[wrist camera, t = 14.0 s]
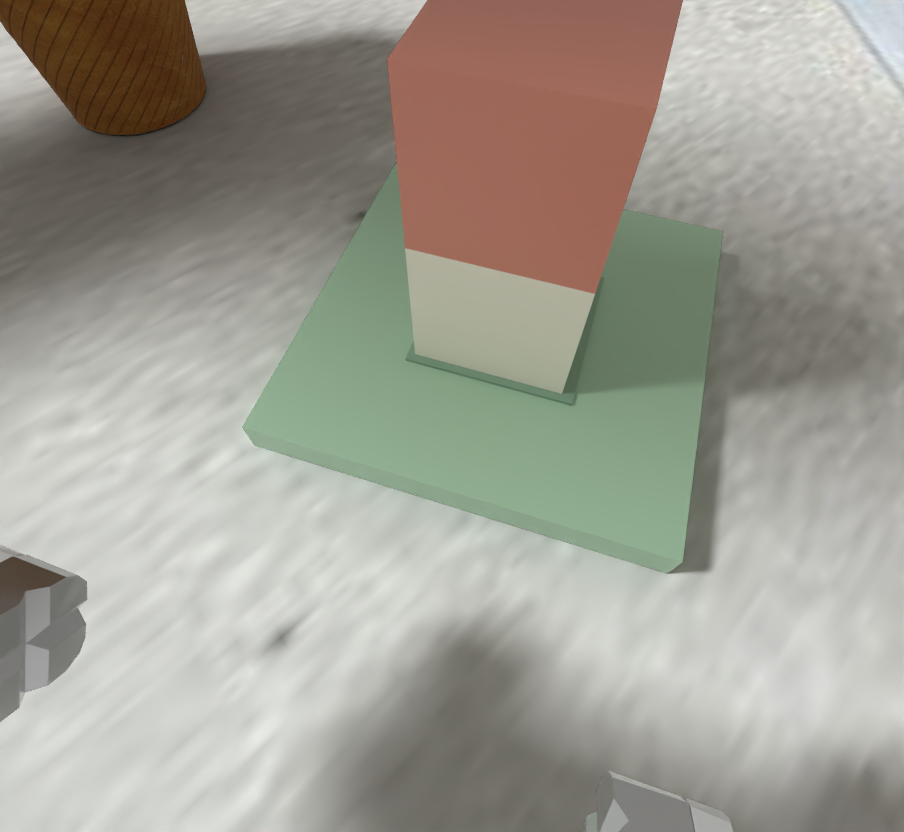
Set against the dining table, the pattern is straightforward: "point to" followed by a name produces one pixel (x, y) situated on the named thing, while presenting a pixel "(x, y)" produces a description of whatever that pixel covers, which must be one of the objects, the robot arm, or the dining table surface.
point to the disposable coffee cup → (112, 59)
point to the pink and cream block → (519, 168)
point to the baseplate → (513, 395)
